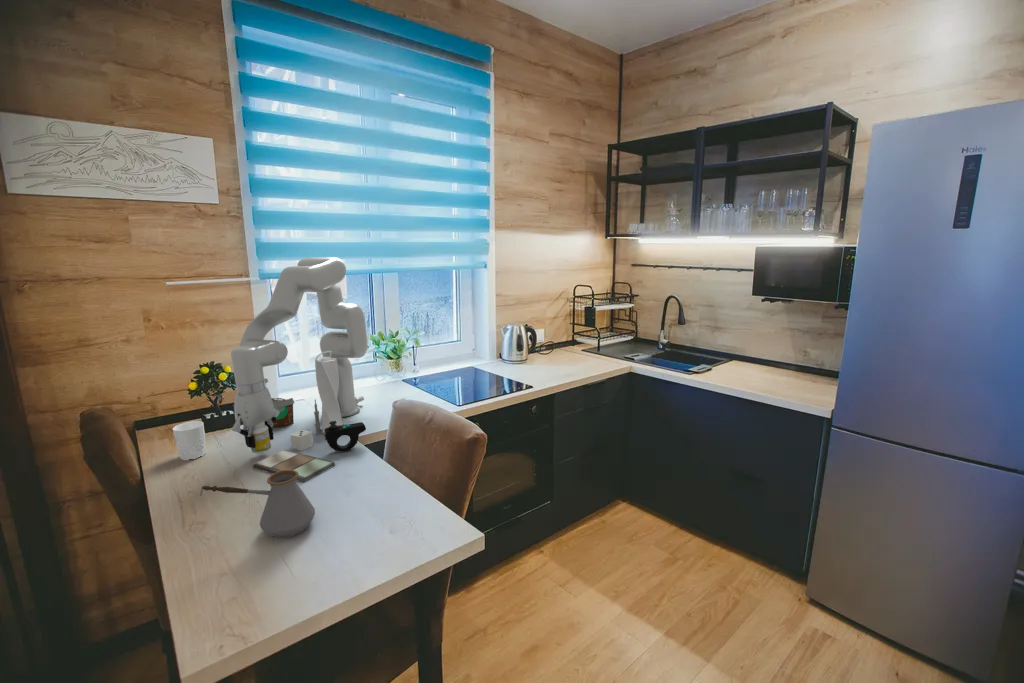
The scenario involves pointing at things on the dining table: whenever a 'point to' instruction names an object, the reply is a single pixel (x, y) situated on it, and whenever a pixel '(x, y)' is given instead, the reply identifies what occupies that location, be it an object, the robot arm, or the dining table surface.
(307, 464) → the game strip
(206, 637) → the dining table surface
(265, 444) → the supplement bottle
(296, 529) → the coffee pot
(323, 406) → the skyscraper
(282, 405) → the food container
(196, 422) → the white cup
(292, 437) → the die
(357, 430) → the controller
